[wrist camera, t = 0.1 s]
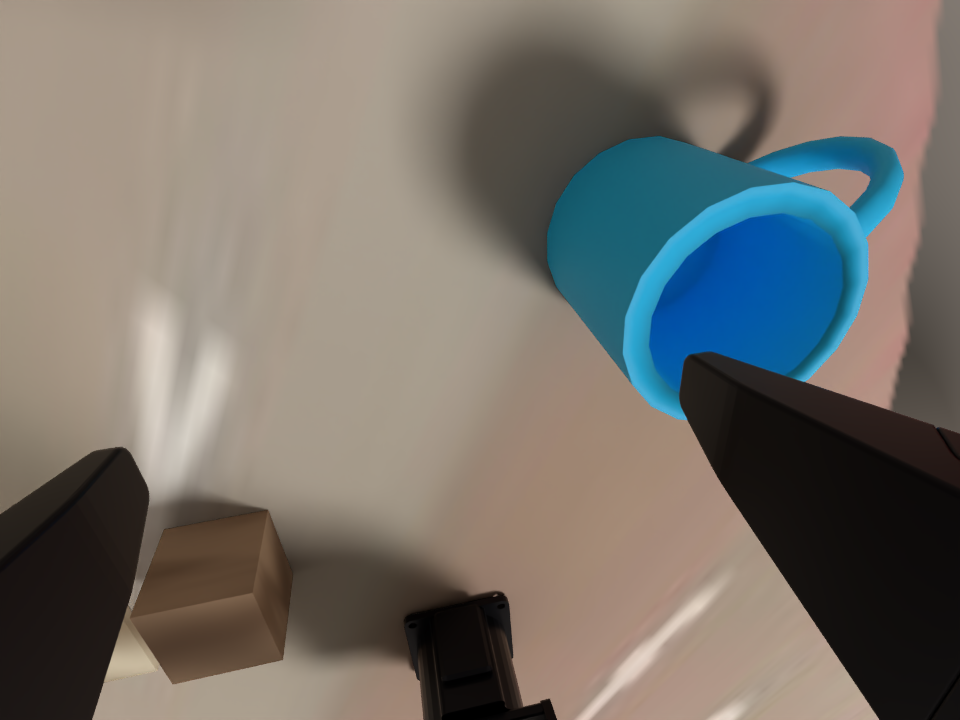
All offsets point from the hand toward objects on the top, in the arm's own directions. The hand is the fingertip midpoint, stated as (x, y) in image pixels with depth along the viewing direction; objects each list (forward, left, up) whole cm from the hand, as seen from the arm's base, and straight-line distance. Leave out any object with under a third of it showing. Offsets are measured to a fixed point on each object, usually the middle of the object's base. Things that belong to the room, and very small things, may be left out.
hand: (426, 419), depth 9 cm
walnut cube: (-17, +11, -15) cm, 25 cm away
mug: (-2, -12, -15) cm, 19 cm away
